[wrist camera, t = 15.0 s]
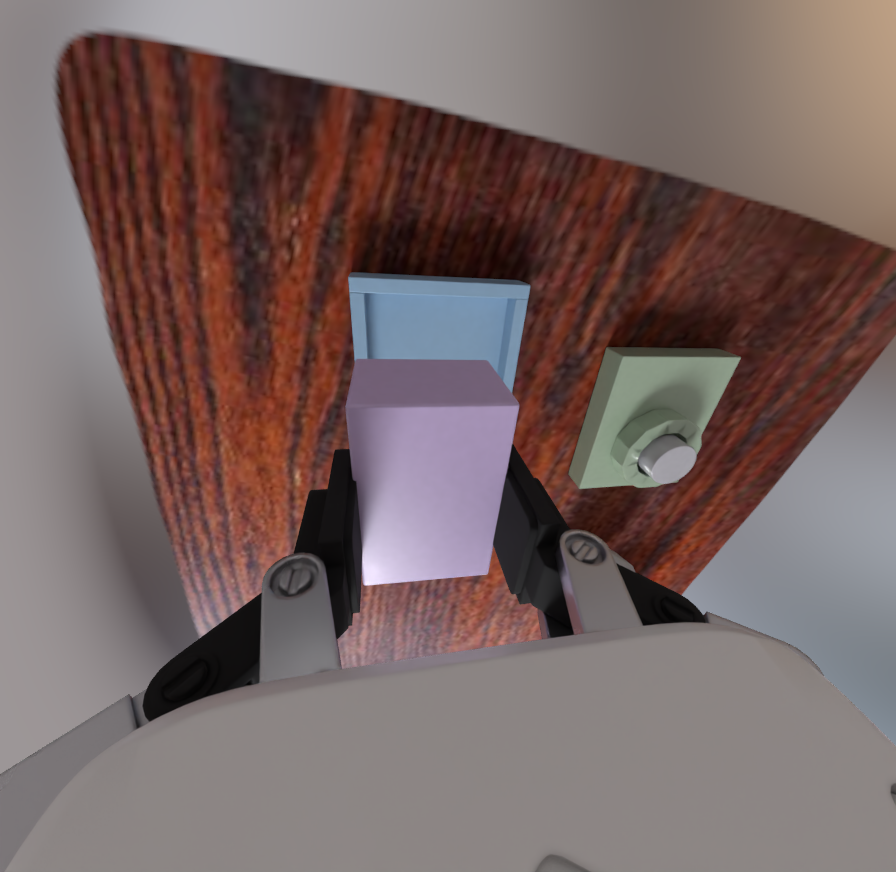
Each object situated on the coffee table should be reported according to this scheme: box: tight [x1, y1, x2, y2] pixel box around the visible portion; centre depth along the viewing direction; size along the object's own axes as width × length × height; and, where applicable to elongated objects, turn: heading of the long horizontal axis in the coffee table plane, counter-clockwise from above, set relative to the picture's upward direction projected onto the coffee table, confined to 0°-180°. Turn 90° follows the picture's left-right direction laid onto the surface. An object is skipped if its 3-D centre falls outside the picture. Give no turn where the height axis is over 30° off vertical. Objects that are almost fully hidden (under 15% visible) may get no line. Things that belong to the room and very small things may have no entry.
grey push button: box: [638, 434, 696, 484], centre depth 27 cm, size 4×4×2 cm
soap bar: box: [345, 359, 519, 585], centre depth 12 cm, size 7×4×4 cm, turn 176°
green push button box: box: [568, 347, 741, 489], centre depth 29 cm, size 12×10×4 cm
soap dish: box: [348, 272, 530, 393], centre depth 24 cm, size 13×11×2 cm
